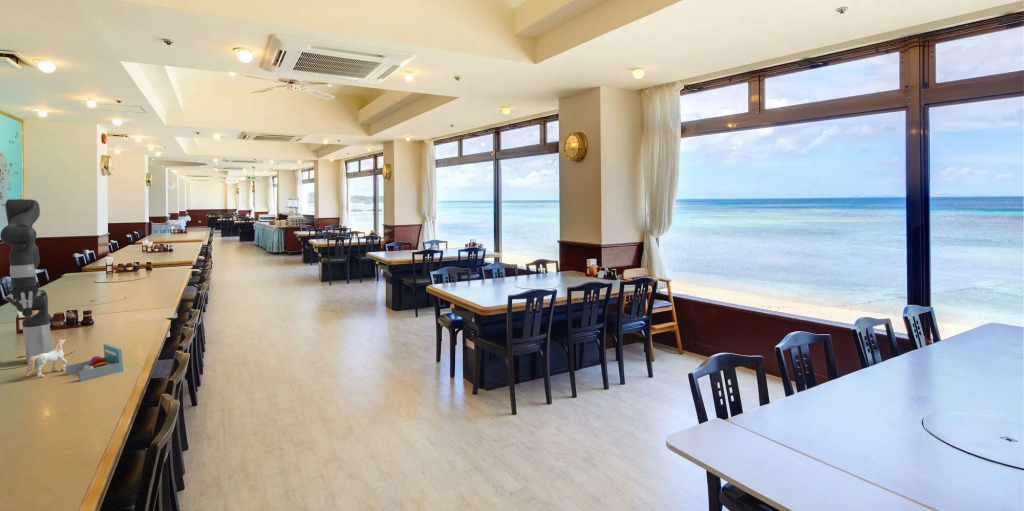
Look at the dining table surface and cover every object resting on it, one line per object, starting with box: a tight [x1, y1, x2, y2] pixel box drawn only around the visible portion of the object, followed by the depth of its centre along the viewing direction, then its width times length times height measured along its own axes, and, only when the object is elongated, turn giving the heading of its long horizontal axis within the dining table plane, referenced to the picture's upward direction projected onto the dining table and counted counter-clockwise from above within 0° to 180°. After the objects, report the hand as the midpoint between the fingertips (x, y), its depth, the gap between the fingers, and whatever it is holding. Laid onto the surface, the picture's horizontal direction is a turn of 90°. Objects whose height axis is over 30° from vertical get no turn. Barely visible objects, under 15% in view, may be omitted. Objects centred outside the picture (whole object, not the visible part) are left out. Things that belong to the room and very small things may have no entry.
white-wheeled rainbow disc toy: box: [83, 355, 110, 370], centre depth 225 cm, size 8×10×7 cm
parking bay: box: [65, 343, 124, 382], centre depth 224 cm, size 15×15×10 cm
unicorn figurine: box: [25, 336, 68, 378], centre depth 224 cm, size 7×20×13 cm, turn 4°
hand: (27, 316), depth 214 cm, fingers closed
